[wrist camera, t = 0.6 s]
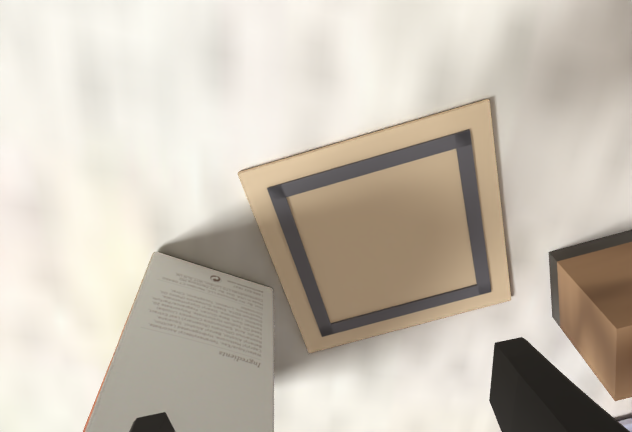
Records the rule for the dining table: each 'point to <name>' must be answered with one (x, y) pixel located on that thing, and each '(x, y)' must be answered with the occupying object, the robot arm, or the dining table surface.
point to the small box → (192, 354)
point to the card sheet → (386, 227)
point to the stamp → (597, 306)
